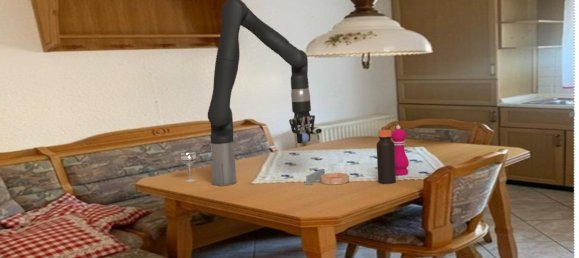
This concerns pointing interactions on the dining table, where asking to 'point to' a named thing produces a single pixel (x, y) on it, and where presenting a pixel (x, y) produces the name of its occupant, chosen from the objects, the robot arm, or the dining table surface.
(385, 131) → the bottle
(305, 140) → the ball
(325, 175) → the bowl
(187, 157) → the wineglass
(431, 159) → the dining table surface
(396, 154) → the pepper mill
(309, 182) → the fence
